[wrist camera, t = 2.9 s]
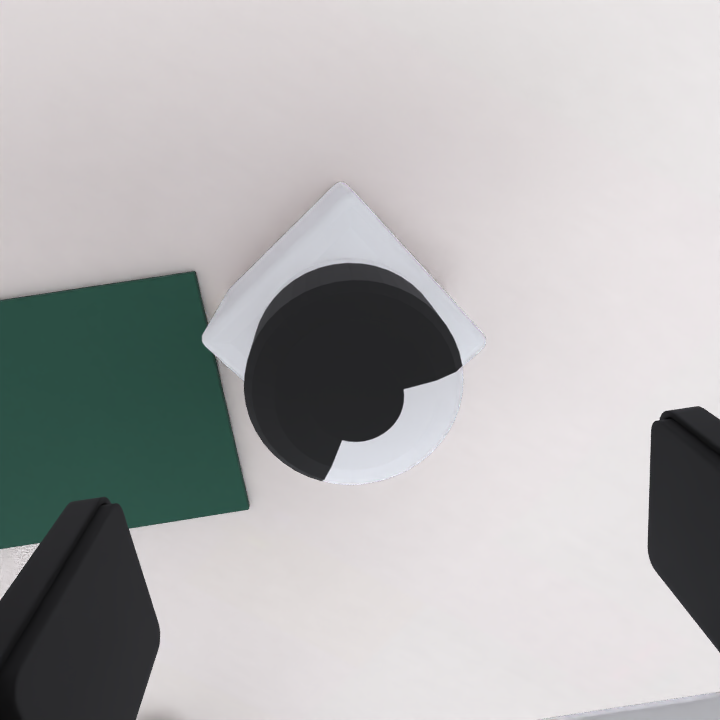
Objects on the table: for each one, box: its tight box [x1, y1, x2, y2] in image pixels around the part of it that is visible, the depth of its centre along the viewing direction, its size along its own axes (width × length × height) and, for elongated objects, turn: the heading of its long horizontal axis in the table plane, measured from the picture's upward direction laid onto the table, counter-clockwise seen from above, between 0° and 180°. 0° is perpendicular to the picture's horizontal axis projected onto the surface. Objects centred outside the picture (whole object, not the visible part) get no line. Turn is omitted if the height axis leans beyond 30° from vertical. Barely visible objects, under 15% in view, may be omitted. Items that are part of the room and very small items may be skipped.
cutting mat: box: [0, 271, 249, 549], centre depth 28 cm, size 14×12×1 cm
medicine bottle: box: [202, 182, 486, 485], centre depth 22 cm, size 7×7×12 cm
